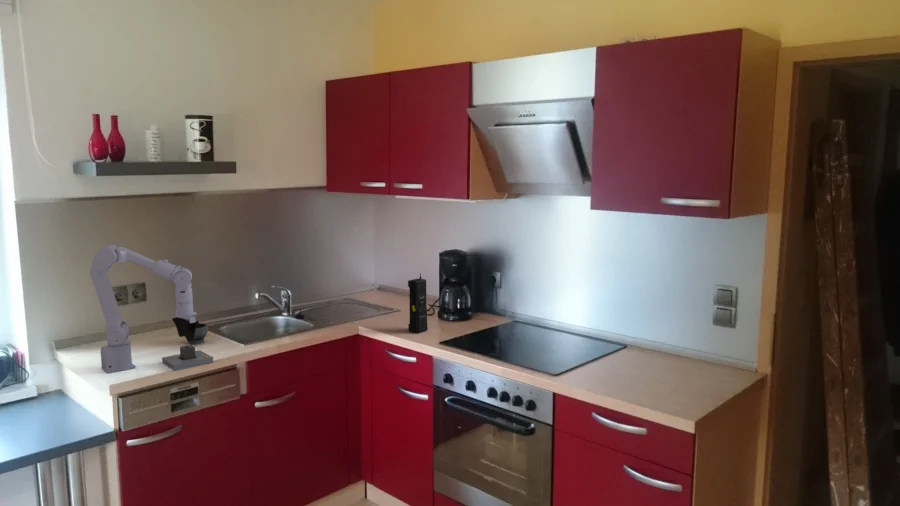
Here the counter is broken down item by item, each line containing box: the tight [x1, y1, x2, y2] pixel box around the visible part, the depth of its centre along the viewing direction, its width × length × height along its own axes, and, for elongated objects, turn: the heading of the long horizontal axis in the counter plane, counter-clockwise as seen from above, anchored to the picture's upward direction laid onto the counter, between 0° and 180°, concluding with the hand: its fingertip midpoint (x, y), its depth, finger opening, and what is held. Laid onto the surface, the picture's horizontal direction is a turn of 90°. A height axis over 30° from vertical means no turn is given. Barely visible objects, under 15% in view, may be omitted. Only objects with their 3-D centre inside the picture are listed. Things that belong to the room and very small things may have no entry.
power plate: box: [161, 349, 214, 371], centre depth 241 cm, size 14×12×2 cm
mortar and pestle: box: [184, 322, 209, 346], centre depth 266 cm, size 11×9×12 cm
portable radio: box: [407, 273, 429, 334], centre depth 284 cm, size 8×6×25 cm
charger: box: [179, 343, 196, 360], centre depth 241 cm, size 4×4×7 cm
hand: (186, 338), depth 240 cm, fingers open, 7 cm apart
